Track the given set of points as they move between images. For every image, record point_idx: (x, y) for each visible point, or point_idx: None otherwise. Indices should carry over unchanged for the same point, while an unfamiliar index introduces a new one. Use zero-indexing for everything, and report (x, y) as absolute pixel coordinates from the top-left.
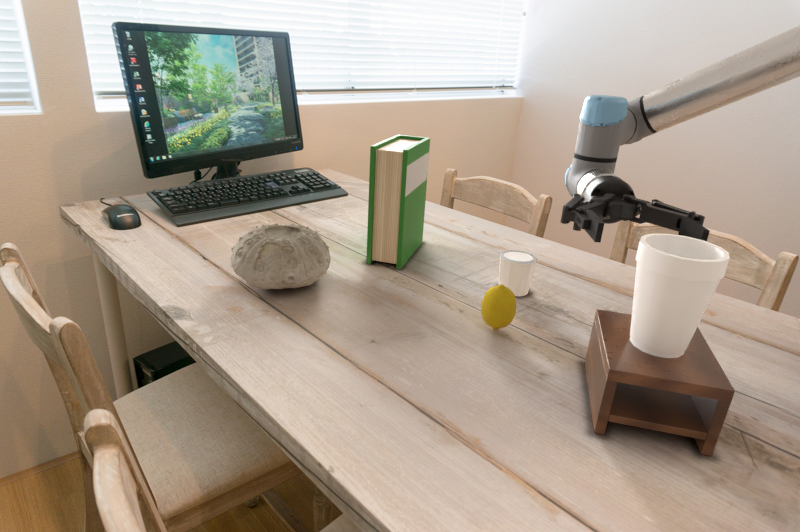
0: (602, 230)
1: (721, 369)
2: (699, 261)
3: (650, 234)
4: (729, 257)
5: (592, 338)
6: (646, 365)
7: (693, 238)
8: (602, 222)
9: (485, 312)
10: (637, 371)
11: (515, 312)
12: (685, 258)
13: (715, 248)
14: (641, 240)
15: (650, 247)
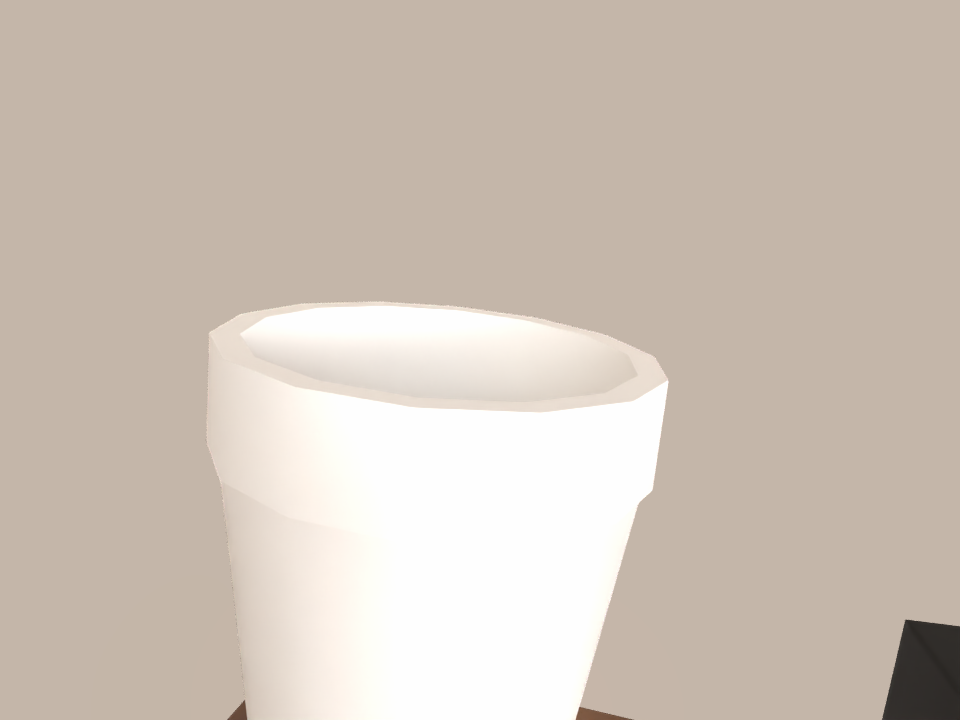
0: (892, 697)
1: (236, 714)
2: (472, 310)
3: (553, 407)
4: (295, 305)
5: None
6: None
7: (267, 370)
8: (932, 633)
9: None
10: (578, 715)
11: None
12: (520, 317)
13: (246, 338)
14: (655, 381)
15: (635, 353)
